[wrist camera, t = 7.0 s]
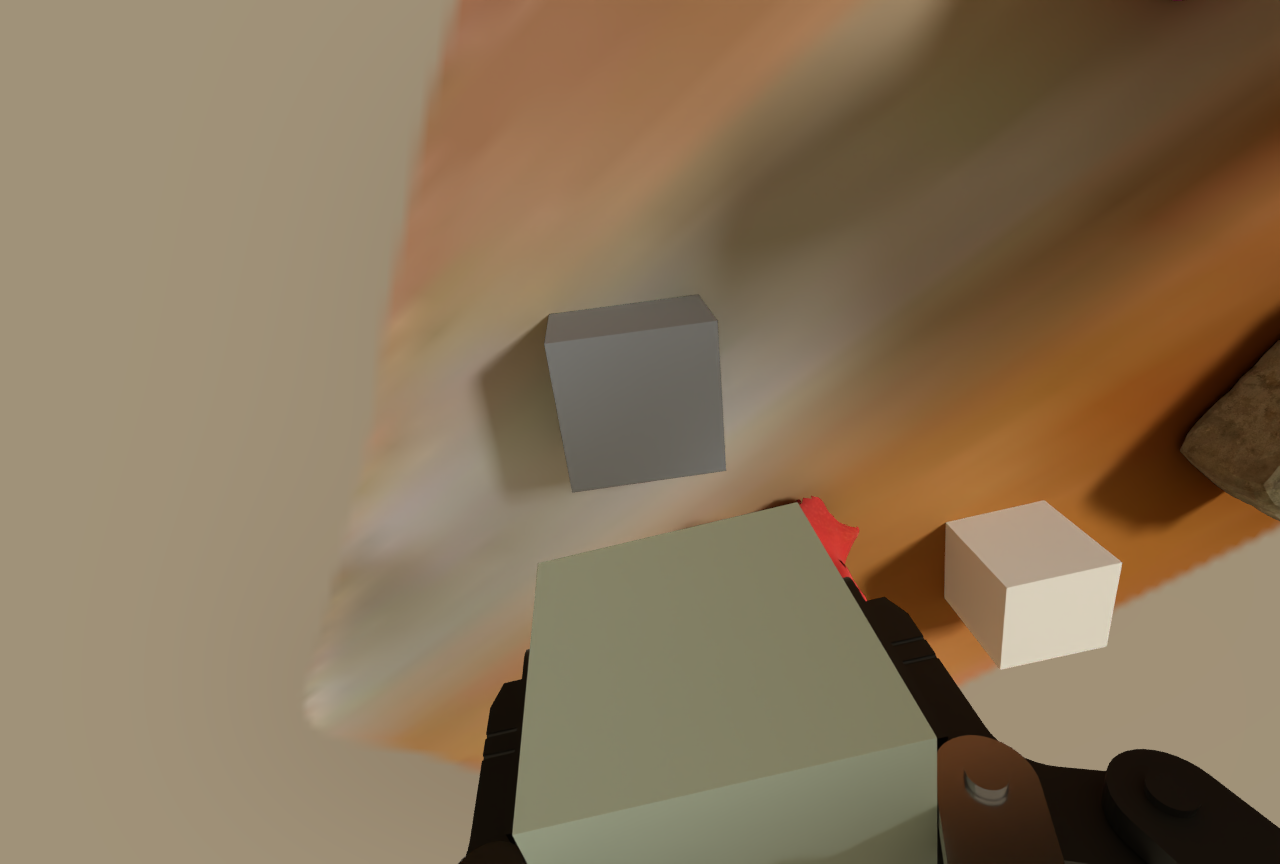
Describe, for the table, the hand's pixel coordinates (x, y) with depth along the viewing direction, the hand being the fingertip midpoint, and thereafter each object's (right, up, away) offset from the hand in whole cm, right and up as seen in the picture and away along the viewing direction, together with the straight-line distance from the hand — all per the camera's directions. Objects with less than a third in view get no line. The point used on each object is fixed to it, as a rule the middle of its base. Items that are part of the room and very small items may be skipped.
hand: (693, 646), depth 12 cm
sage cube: (0, 0, 0) cm, 0 cm away
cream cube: (+17, -2, +20) cm, 26 cm away
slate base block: (-1, +7, +14) cm, 15 cm away
